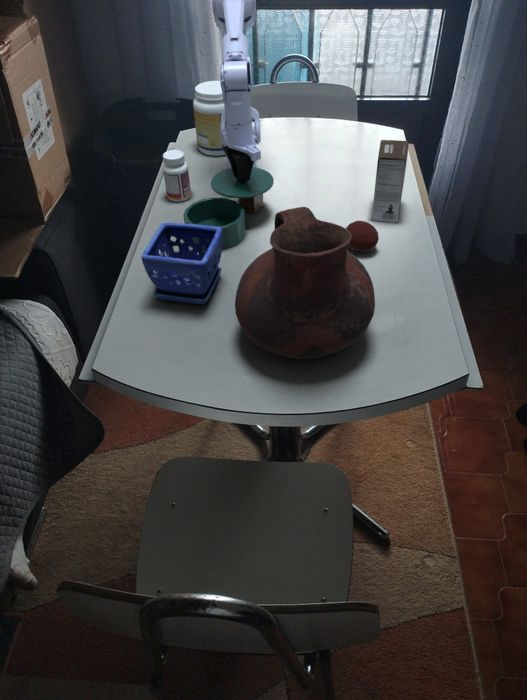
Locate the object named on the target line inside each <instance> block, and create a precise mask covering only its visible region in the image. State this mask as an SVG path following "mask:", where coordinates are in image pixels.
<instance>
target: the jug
mask: <svg viewBox="0 0 527 700" xmlns="http://www.w3.org/2000/svg"><path fill="white" fill-rule="evenodd" d="M351 239H352V235H351V233H350V231H348V230H347V229H346V228H345V227H343V226H341V225H339V224H337V223H334V222H329V221H325V220H324V221H323V220H320V219H317V217H316V216H315V214H314V213H313V212H312V210H311V209H310V208H309V207H307V206H298V207H294V208H293V207H292V208H288V209H284V210H280V211H278V212H276V214H275V215H274V229H273V230H272V232H271V234H270V237H269V244H270V246H271V247H272V248H270V249H268V250H266V251H264V252H263V253H261V254H260V255H258V256H257V257H256V258H255V259H254V260H253V261H252V262H251V263H250V264H249V265H248V266H247V267H246V269H245V270H244V271H243V273H242V275H241V276H240V277H241V278H240V279H239V282H238V285H237V289H236V293H235V301H234V308H235V316H236V318H237V321H238V324H239V327H240V328H241V329H242V331H243V333H244V334H245V336H247V338H248V339H250V341H251V342H253V344H255V345H257V346H258V347H259V348H261V349H263V350H265V351H267V352H269V353H272V354H275V355H278V356H281V357H286V358H290V359H294V360H295V359H296V360H297V359H298V360H310V359H318V358H322V357H326V356H328V355H332V354H335V353H338V352H340V351H342V350H344V349H346V348H348V347H349V346H351V345H352V344H353V343H355V342H357V340H358V339H359V338H361V337H362V336H363V334H364V333H365V332H366V330H367V329H368V327H369V325H370V323H371V322H372V319H373V317H374V315H375V309H376V296H375V288H374V283H373V280H372V278H371V276H370V274H369V272H368V270H367V269H366V267H365V265H364V264H363V262H362V261H360V260H359V259H358V258H357V257H356V256H354V255H353V253H350V252H348V251H349V245H350V242H351Z"/></svg>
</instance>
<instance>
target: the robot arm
mask: <svg viewBox="0 0 527 700" xmlns="http://www.w3.org/2000/svg"><path fill="white" fill-rule="evenodd" d="M211 7H212V8H211V9H212V15H213V19H214V23H215V25H216V27H217V28H219V29H221V30H223V32H224V33H225V35H224V36H223V37H222V39H221V64H219V81H220V84H221V89H222V94H223V101H224V108H225V110H224V111H223V112H222V115H221V130H220V134H221V139H222V144H223V145H224V147H223V151H224V152H225V154H226V155H225V156H226V164H227V169H229V168H232V171H233V174H234V177H237V173H236V164H237V167H238V172H239V178H240V181H241V182H242V183H243V182H246V181H249V180H250V176H251V171H252V167H256V168H258V166H257V163H258V162H257V161H260V160H261V159H262V151H261V150H260V149H259V148H258V145H260V143H261V142H262V138H261V120H260V112H259V111H258V110H257V109H256V108H255V107H253V106H252V94H251V91H252V89H253V68H252V64H251V58H250V47H249V39H248V37H247V33H248V29H250V28H252V27H254V26H255V22H256V21H257V20H256V18H257V17H256V14H257V1H256V0H211ZM249 86H250V87H249ZM226 145H227V146H226Z"/></svg>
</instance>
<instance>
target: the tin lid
mask: <svg viewBox="0 0 527 700" xmlns="http://www.w3.org/2000/svg"><path fill="white" fill-rule="evenodd" d="M236 173H237V177H234V174H233V171H232V168H229V169H228V168H224V169H223V170H221V171H219V172H217V173H216V174H215V175H213V176H212V178H211V180H210V187H211V189H212V190H213V191H214V192H215V193H216V194H217V195H220V196H222V197H224V198H228V199H239V198H250V197H255V196H259V195H261V194H263V195H264V194H266V193H267V192H269V191H270V190H271V189H272V187H273V186H274V183H275V179H274V176H273V174H271V173H270V172H269V171H267V170H265V169H263V168H260V167H257V168H256V167H252V171H251V176H250V180H249V181H246V182H243V183H242V182H241V181H240V178H239V172H238V167H237V164H236Z"/></svg>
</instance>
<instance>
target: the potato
mask: <svg viewBox="0 0 527 700" xmlns="http://www.w3.org/2000/svg"><path fill="white" fill-rule="evenodd" d="M346 229H347V230H348V231H350V233H351V235H352V239H351V242H350V245H349V247H348V249H351V250H353V251H358V252H368V251H371V250H373V249H375V247H376V246H377V244H378V242H379V240H380V239H379V232H378V230H377V229H376V227H375V226H374V225H373V224H371V223H370V222H368V221H365V220H355V221H353V222H351V223H348V225H347V226H346Z"/></svg>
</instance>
